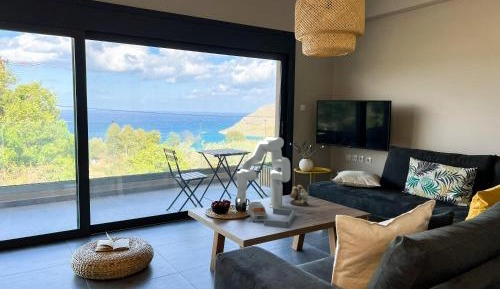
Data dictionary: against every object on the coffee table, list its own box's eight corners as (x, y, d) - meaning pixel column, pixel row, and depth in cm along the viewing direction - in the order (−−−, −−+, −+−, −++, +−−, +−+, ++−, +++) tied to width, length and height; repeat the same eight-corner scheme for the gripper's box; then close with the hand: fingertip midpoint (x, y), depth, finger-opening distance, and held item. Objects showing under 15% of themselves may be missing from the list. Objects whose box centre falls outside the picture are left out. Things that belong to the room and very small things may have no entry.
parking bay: (273, 213, 291) (273, 208, 291) (294, 214, 287) (294, 209, 286) (264, 225, 260) (264, 219, 260) (287, 227, 256) (288, 222, 256)
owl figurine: (286, 204, 319) (286, 184, 318) (292, 201, 329) (293, 182, 327) (305, 207, 309) (305, 187, 307) (311, 204, 318) (311, 185, 317)
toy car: (253, 223, 265) (253, 209, 264) (247, 213, 289) (247, 201, 288) (267, 222, 267) (268, 209, 266) (260, 213, 291) (260, 200, 290)
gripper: (240, 184, 289) (240, 206, 290) (233, 189, 272) (233, 212, 274) (249, 185, 287) (249, 207, 288) (243, 190, 270) (243, 213, 272)
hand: (241, 209), depth 281 cm, fingers open, 9 cm apart
